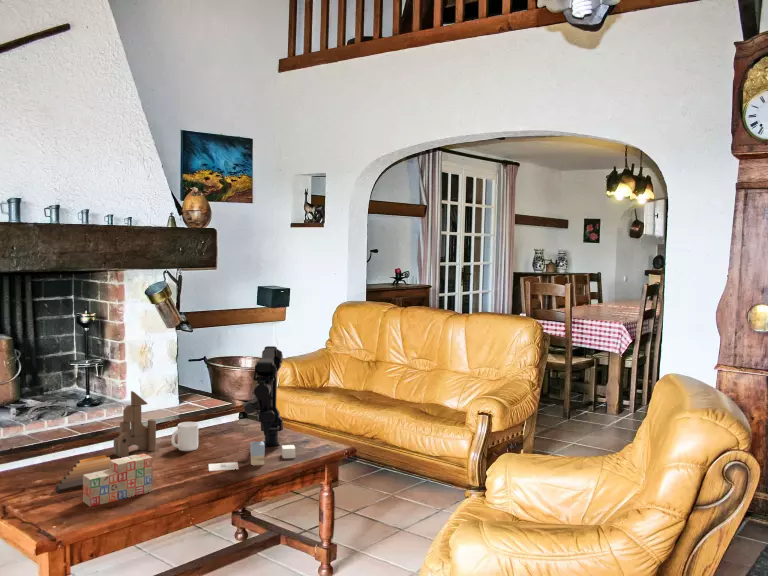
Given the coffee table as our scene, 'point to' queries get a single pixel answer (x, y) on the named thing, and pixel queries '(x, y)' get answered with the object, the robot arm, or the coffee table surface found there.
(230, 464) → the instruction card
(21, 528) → the coffee table surface
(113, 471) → the stack of blocks
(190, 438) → the mug
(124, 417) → the wooden toy
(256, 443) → the blue brick
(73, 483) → the pan flute
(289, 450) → the cream brick
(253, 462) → the beech brick
